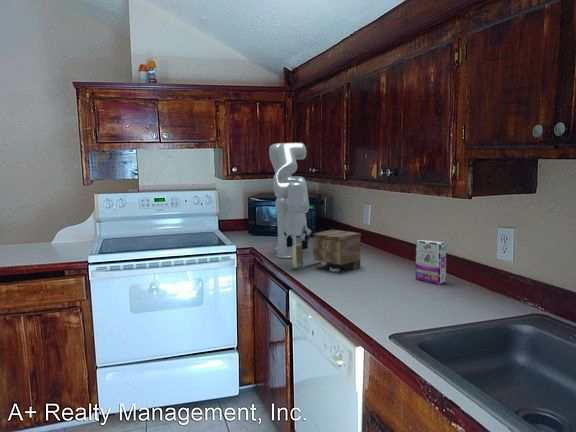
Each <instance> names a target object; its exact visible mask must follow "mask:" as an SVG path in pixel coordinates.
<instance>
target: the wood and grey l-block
mask: <svg viewBox="0 0 576 432" xmlns="http://www.w3.org/2000/svg"><path fill="white" fill-rule="evenodd" d="M292 253H293V258H292V269H296V270H295V271H297V270H300V271H302V270H301V269H304V270H306V268H308V269H311V268H314V267H318V266H321V265H322V261H318V260H311V261H309V262H305V263H303V261H304V259H303V249H302V244H301V243H299V244H297V243H296V245H293V246H292Z"/></svg>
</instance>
